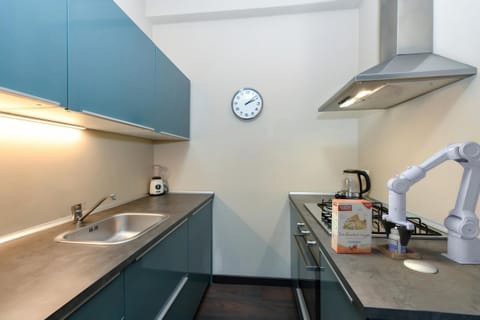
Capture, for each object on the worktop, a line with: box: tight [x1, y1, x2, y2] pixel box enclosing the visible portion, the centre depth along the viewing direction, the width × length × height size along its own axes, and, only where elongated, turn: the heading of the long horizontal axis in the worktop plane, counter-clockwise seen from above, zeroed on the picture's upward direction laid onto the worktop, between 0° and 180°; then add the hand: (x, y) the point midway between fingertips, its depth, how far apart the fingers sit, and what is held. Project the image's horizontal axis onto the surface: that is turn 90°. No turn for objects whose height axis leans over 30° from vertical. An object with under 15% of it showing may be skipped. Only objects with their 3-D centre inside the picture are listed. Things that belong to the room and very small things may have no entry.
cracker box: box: [331, 198, 373, 254], centre depth 92 cm, size 14×6×21 cm, turn 91°
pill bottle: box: [388, 227, 406, 254], centre depth 89 cm, size 5×5×10 cm
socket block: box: [374, 243, 422, 261], centre depth 89 cm, size 11×11×2 cm
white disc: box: [403, 259, 438, 274], centre depth 78 cm, size 9×9×1 cm
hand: (396, 242), depth 89 cm, fingers open, 7 cm apart
